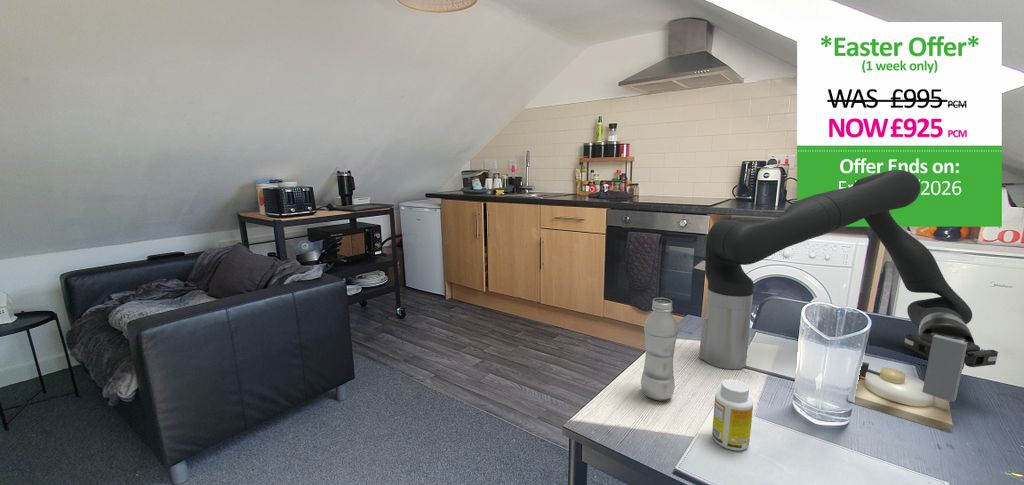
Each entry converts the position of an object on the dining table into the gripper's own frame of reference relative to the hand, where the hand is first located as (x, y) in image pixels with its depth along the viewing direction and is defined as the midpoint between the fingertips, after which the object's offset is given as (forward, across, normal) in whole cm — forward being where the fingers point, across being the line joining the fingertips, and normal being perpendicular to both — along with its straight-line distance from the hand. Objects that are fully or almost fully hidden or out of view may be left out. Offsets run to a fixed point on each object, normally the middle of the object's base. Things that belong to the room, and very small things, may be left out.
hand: (953, 365), depth 73 cm
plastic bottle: (+28, -42, +10) cm, 51 cm away
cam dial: (-1, -5, +8) cm, 10 cm away
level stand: (-1, -6, +10) cm, 12 cm away
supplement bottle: (+34, -27, +10) cm, 44 cm away
